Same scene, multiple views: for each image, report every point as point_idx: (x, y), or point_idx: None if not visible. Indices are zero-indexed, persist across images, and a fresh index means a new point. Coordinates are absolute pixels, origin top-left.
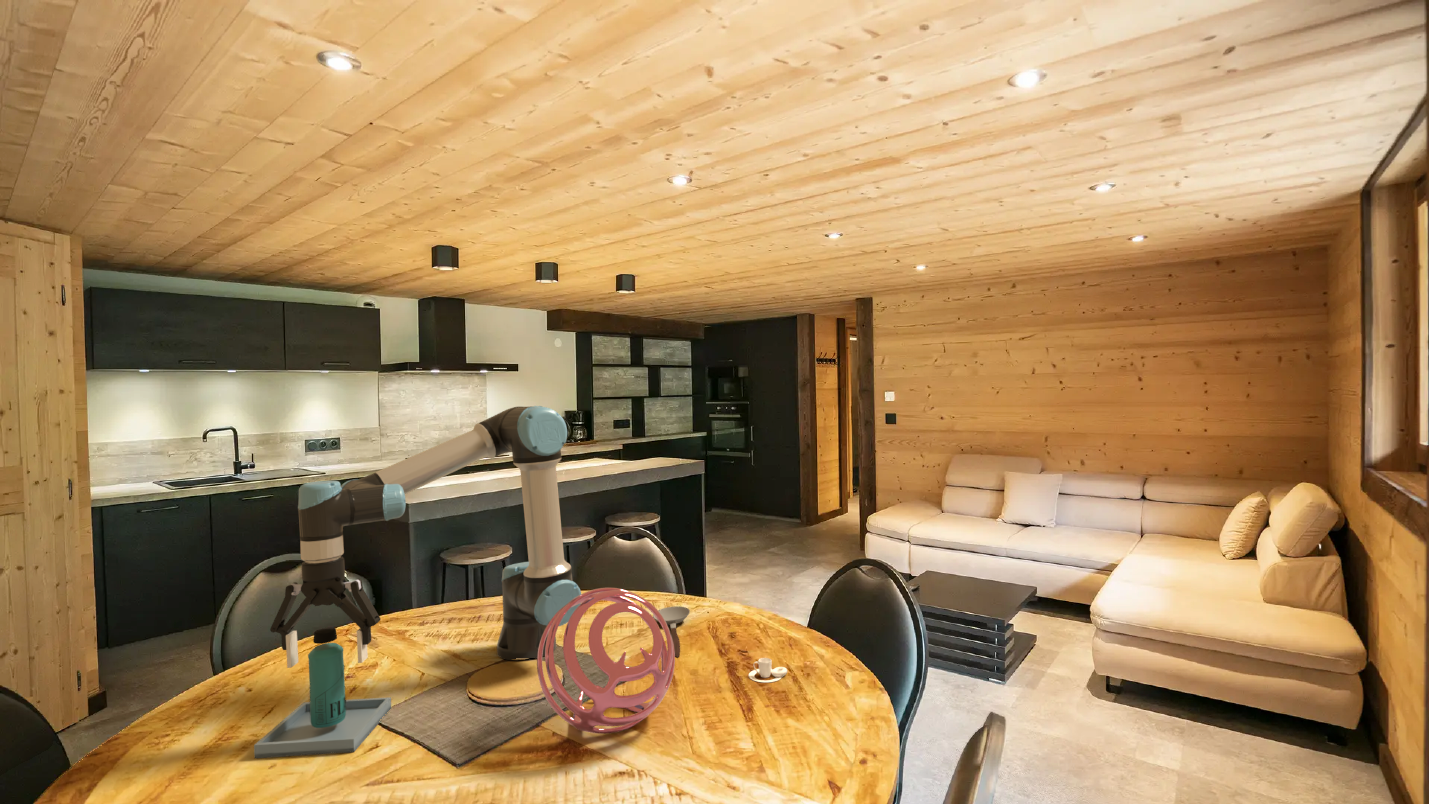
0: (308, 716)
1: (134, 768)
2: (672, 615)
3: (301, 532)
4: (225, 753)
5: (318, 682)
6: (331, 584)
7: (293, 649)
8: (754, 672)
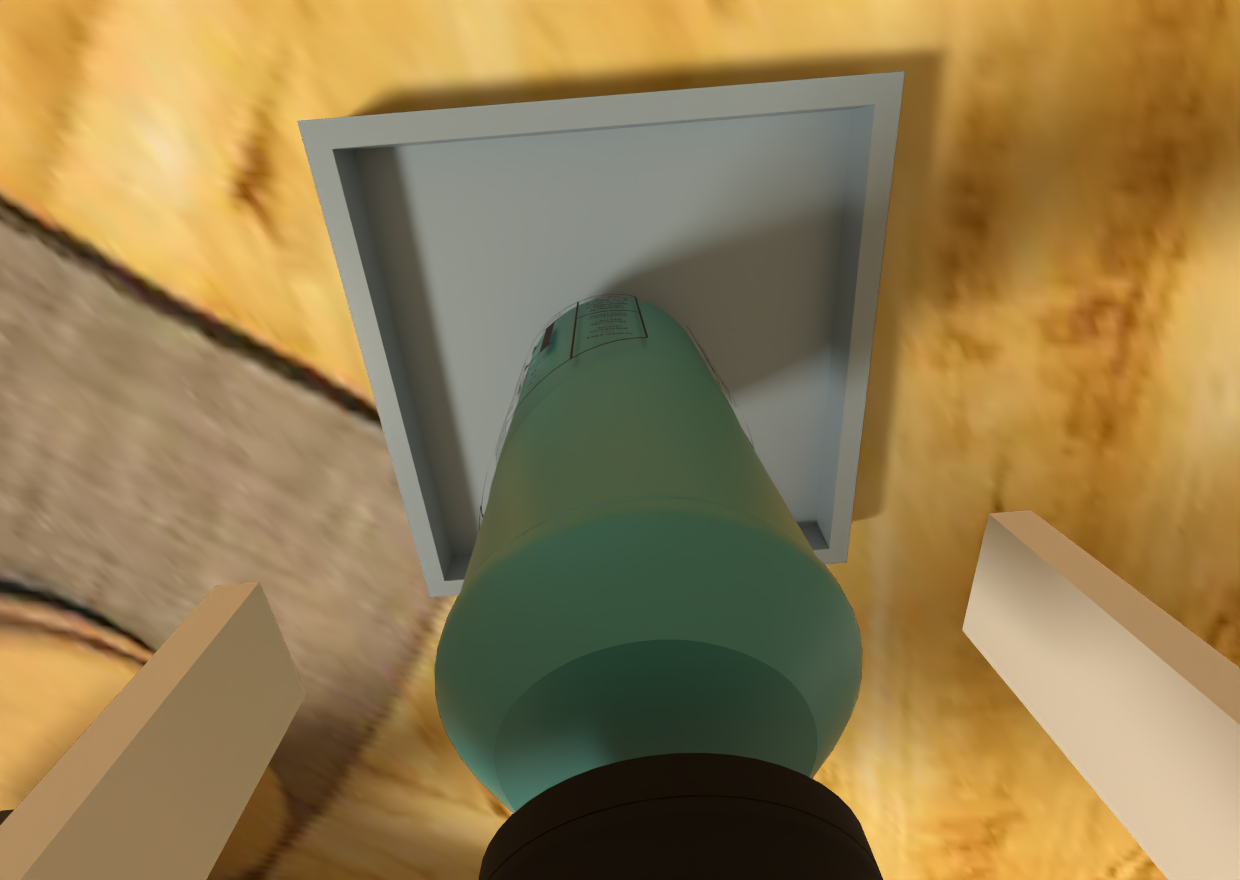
0: (781, 482)
1: None
2: None
3: None
4: (1049, 155)
5: (629, 385)
6: None
7: (1123, 713)
8: None
